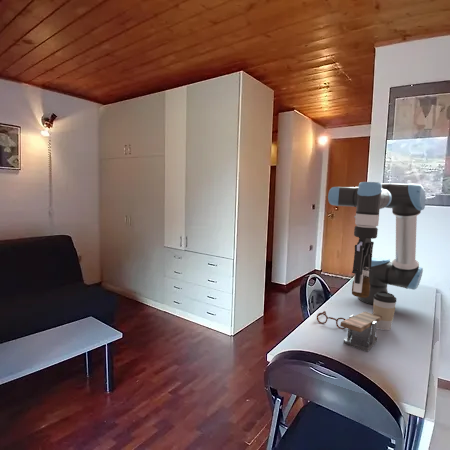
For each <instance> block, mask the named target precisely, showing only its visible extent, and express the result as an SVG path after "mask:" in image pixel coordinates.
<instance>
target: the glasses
mask: <svg viewBox="0 0 450 450" xmlns="http://www.w3.org/2000/svg"><path fill="white" fill-rule="evenodd" d="M322 315H324V316H325V321H323V322H321V321H320V320H319V316H322ZM329 319H330V320H333V321H335V324H336V327H337V328H338V329H339V330H345V329H346V328H345V327H342V326H339V324H338V322H339V320H342V321H344V320H347V319H346V318H344V317H338V318H334V317H331V316H329V317H328V315H327V313H326V311H325V310H323V312H319V313H317V315H316V322H318V323H319V324H320V325H321V324H323V325H325V324H327V322H328V320H329Z"/></svg>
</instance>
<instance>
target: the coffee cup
mask: <svg viewBox="0 0 450 450" xmlns="http://www.w3.org/2000/svg"><path fill="white" fill-rule="evenodd" d="M373 298H374V303H373V304H372V305H373V307H372V310H373V311H372V314H376V315H380V316H382V320H381V321H379V322H377V324H376V329H378V330H384V331H390V330H391V329H392V324H393V320H394V316H395V311H396V304H397V297H395V295H394V294H392V293H390V292H388V293H387V292H385V291H380V292H377V293H376V294H374V297H373Z"/></svg>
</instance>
